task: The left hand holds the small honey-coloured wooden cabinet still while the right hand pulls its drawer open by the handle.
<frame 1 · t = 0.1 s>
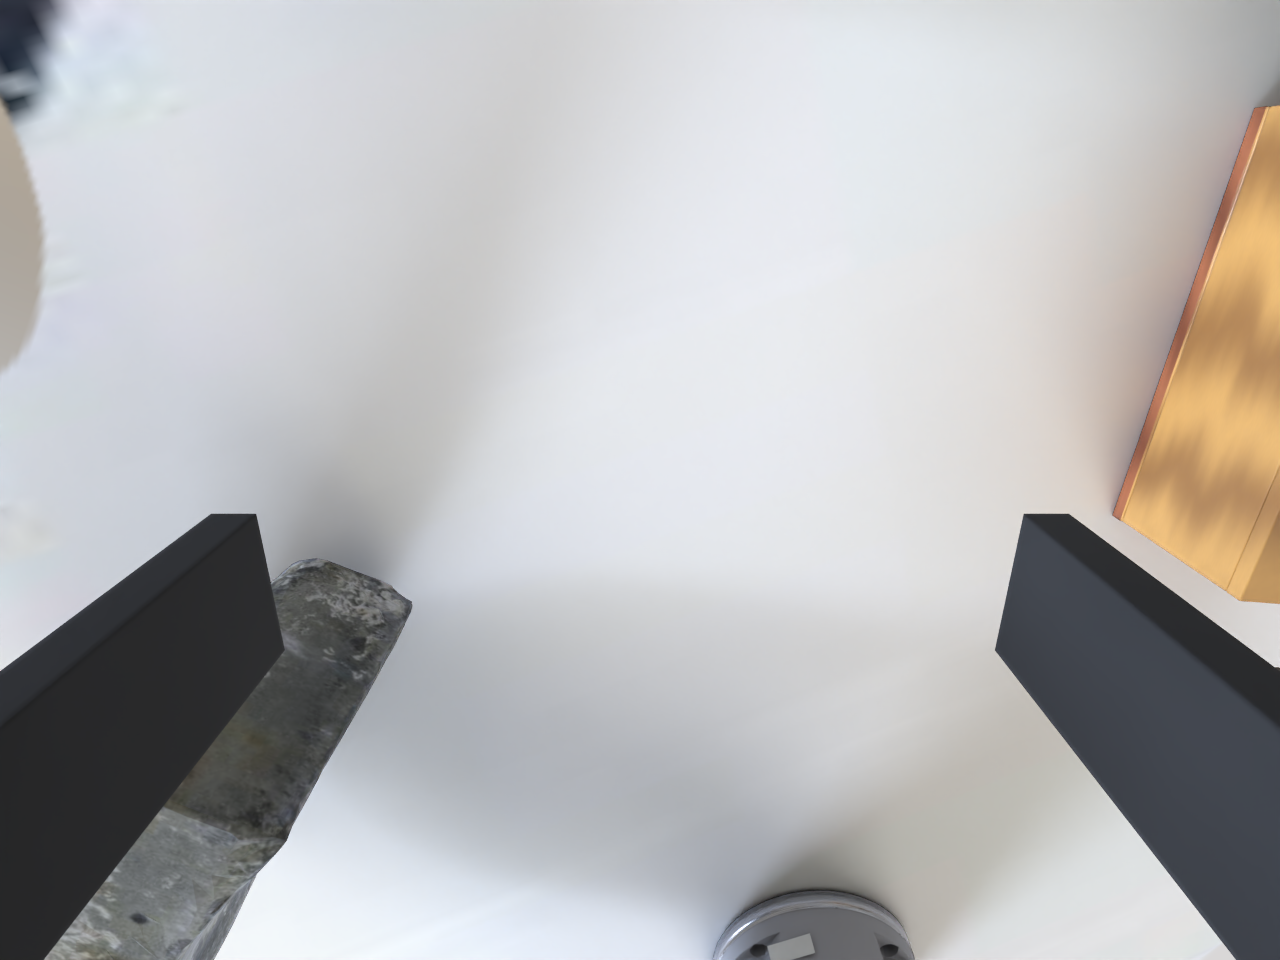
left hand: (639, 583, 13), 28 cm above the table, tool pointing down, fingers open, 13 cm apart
cabinet: (1275, 340, 39), on the table
concrete block: (293, 694, 48), on the table
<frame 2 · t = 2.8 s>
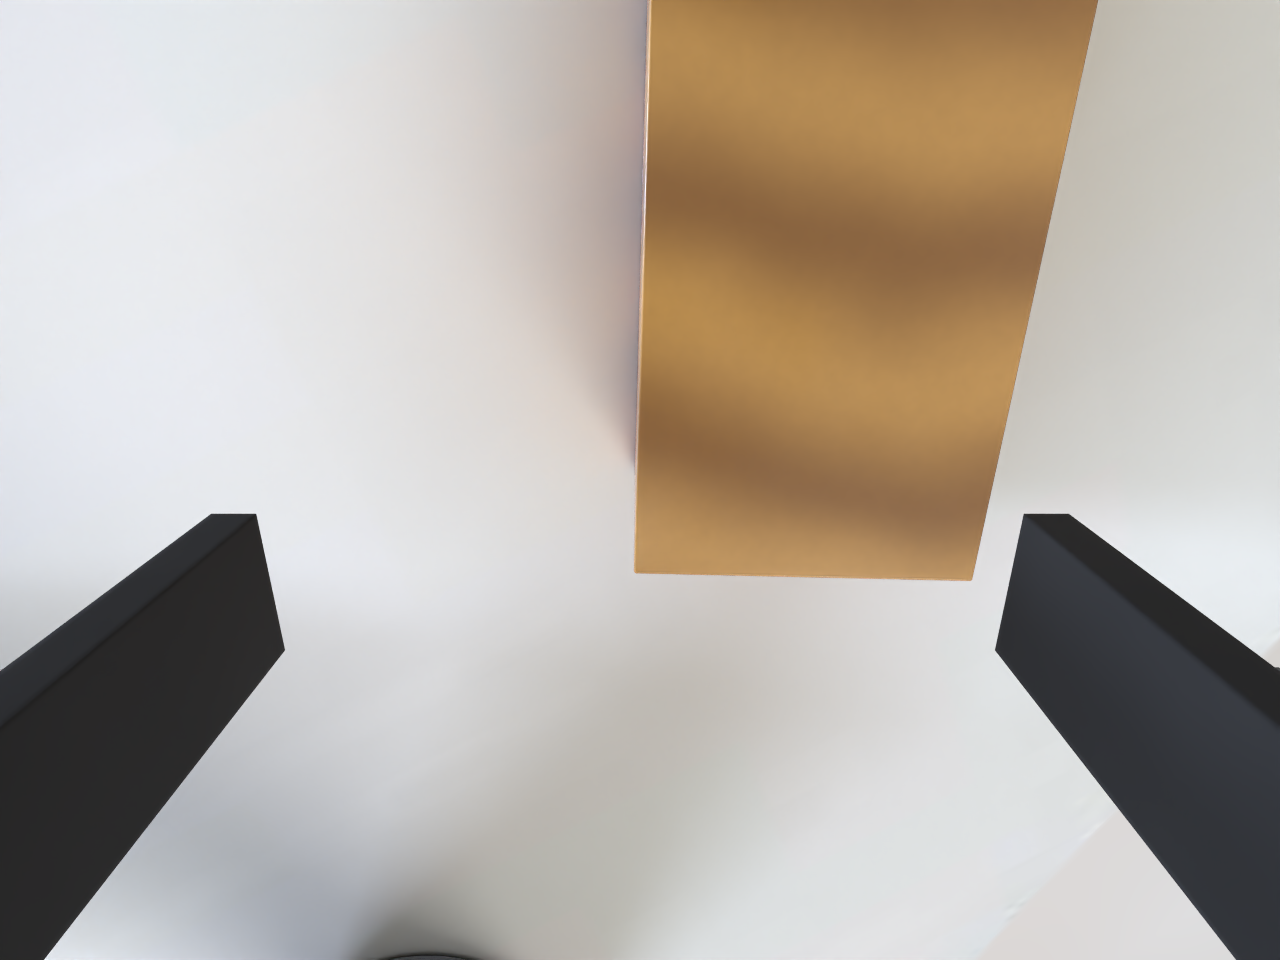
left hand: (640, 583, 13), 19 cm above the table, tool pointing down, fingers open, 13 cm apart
cabinet: (780, 215, 29), on the table
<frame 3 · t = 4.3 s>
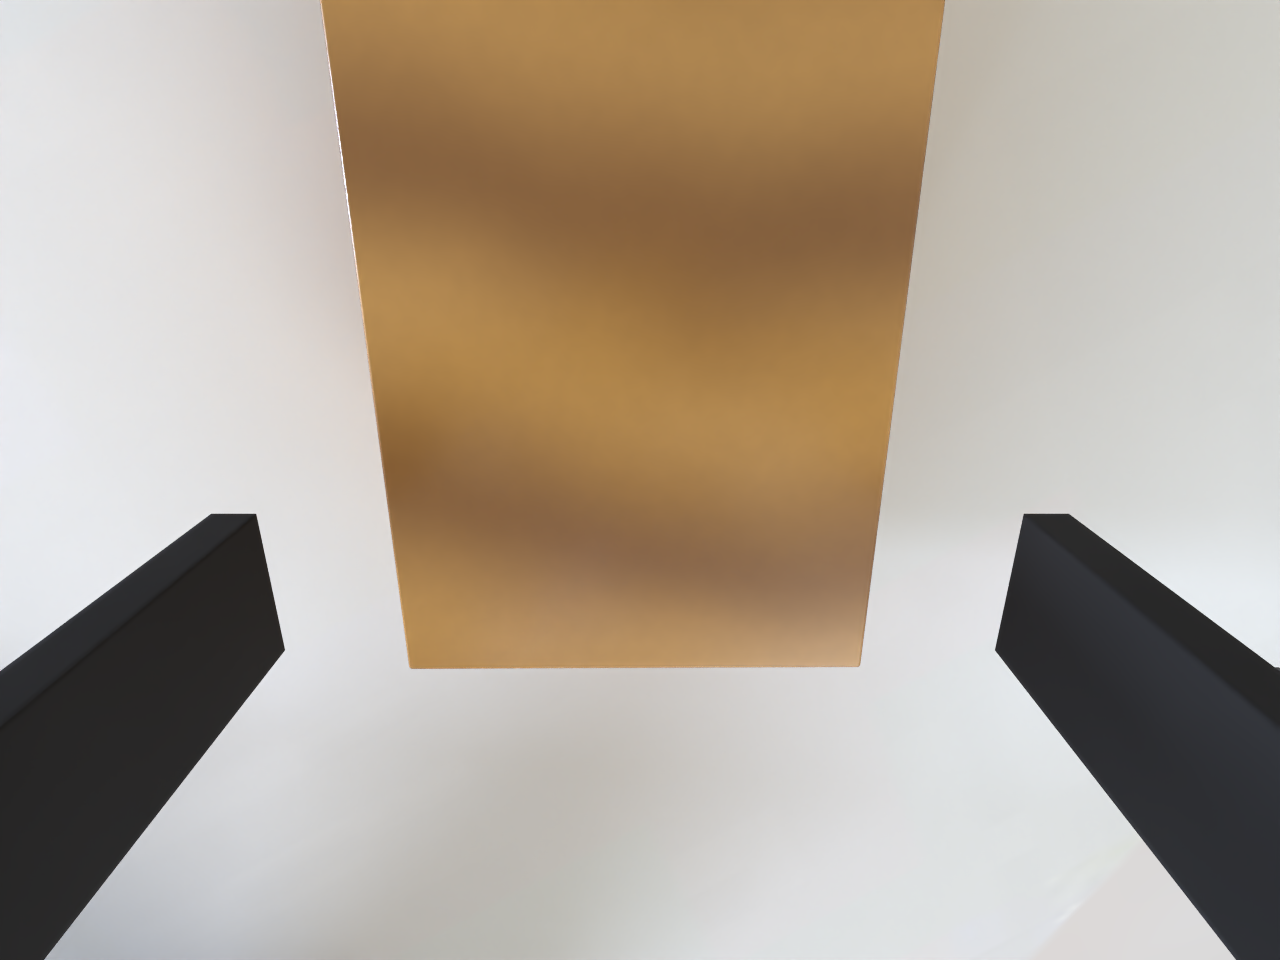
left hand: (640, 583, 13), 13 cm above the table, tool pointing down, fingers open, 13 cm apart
cabinet: (634, 195, 23), on the table
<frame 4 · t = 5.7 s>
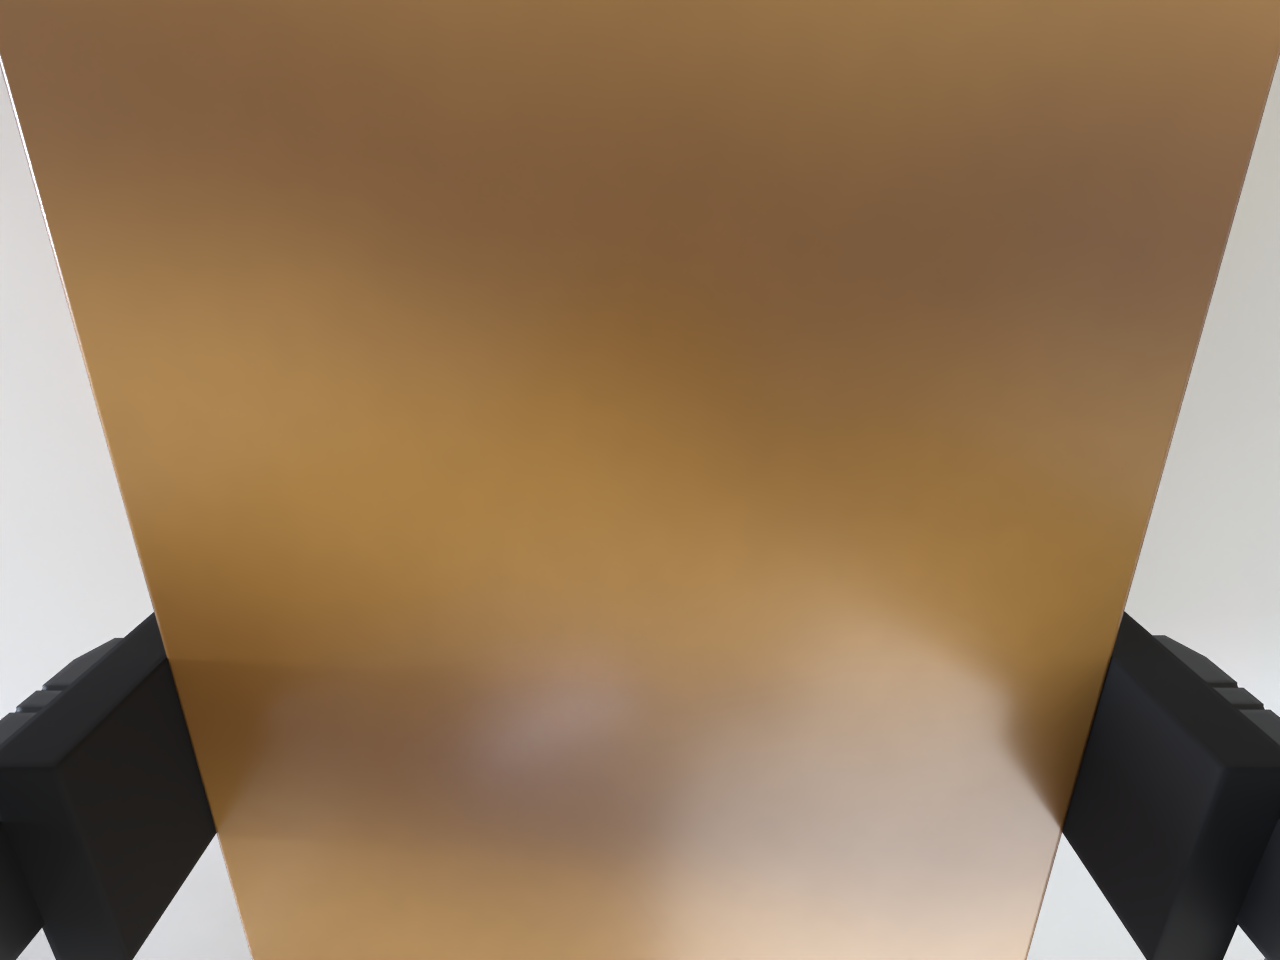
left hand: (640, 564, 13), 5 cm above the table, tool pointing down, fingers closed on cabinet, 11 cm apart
cabinet: (638, 179, 16), on the table, touching left hand
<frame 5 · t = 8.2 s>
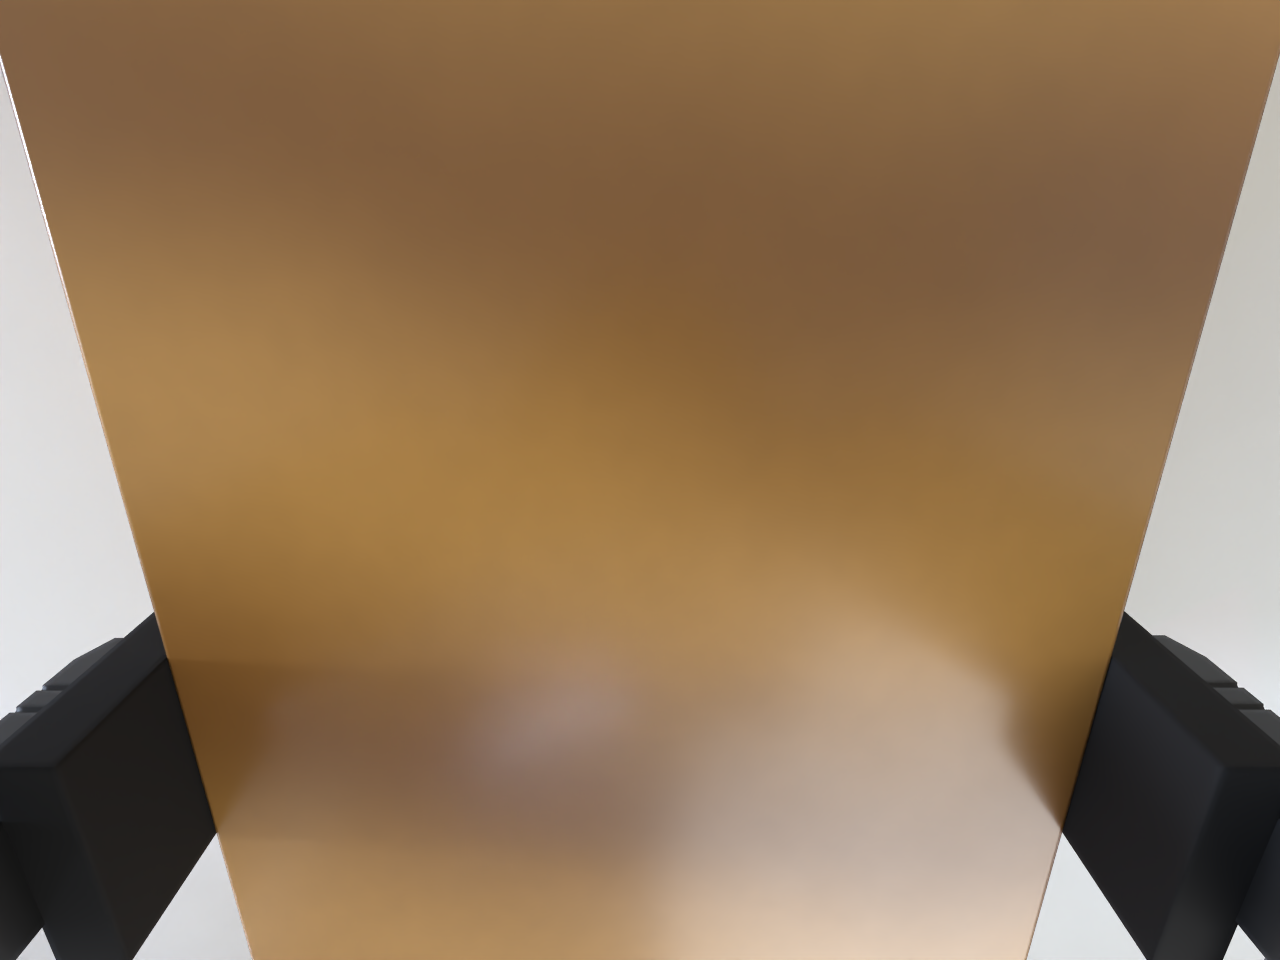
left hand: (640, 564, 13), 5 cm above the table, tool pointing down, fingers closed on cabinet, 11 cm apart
cabinet: (638, 179, 16), on the table, touching left hand
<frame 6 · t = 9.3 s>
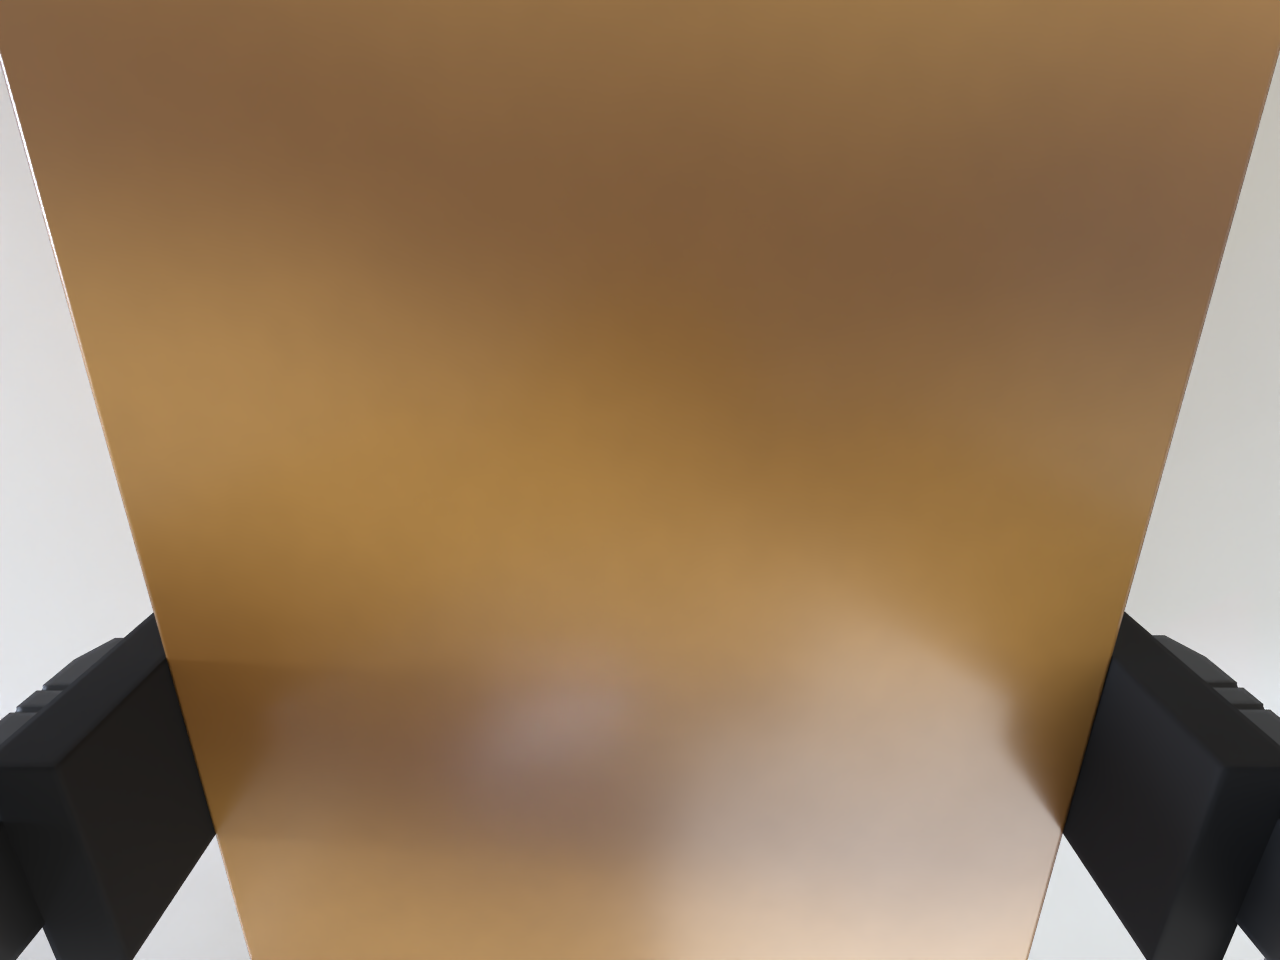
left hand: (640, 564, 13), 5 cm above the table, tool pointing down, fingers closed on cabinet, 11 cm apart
cabinet: (638, 180, 16), on the table, touching left hand
when the left hand's fingers open (5 cm above the table, at t = 11.3 s): cabinet stays where it is, on the table.
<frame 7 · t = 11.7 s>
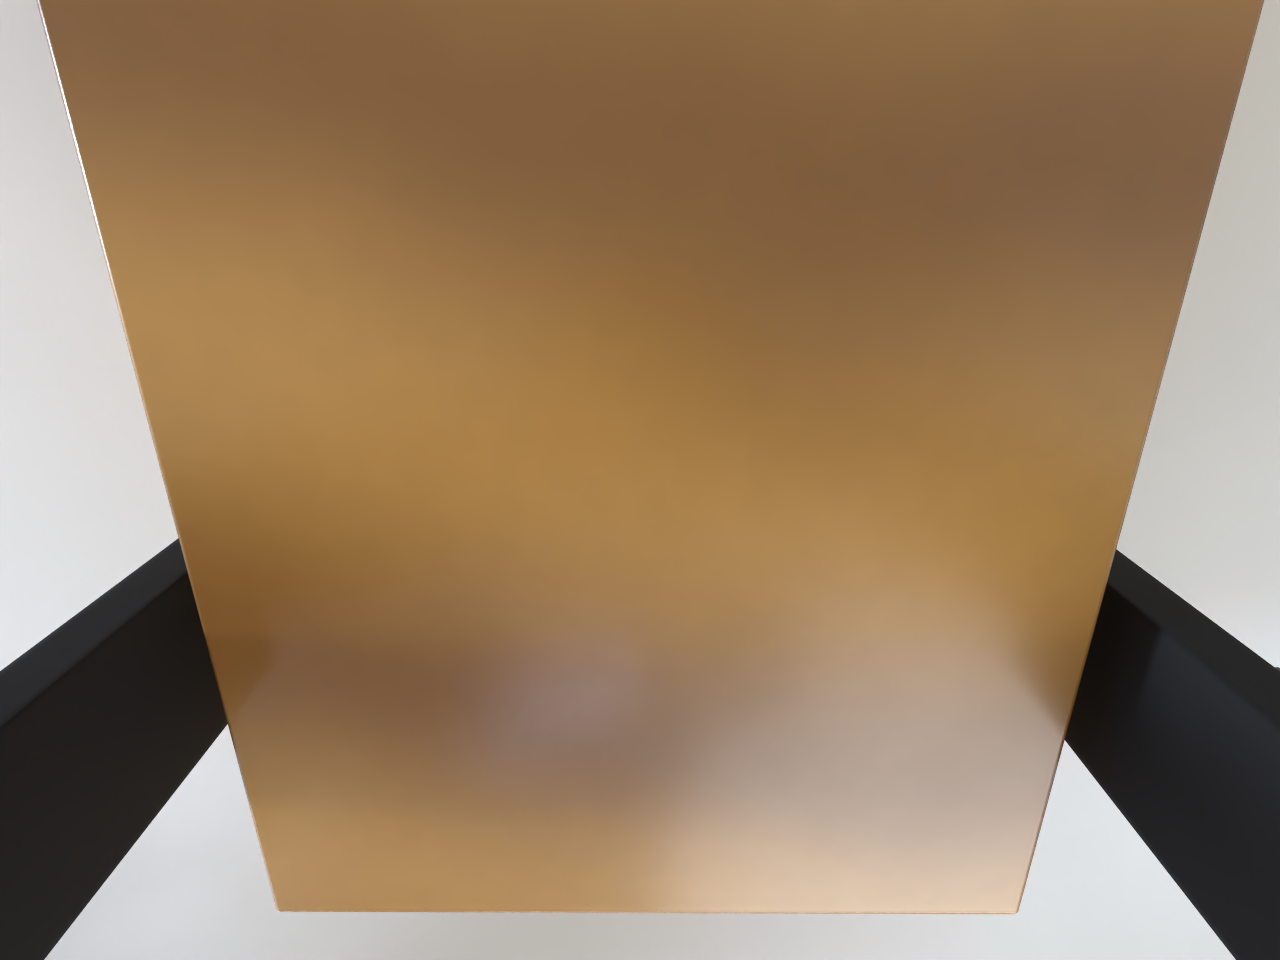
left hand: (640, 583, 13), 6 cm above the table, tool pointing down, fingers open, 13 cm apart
cabinet: (645, 147, 16), on the table
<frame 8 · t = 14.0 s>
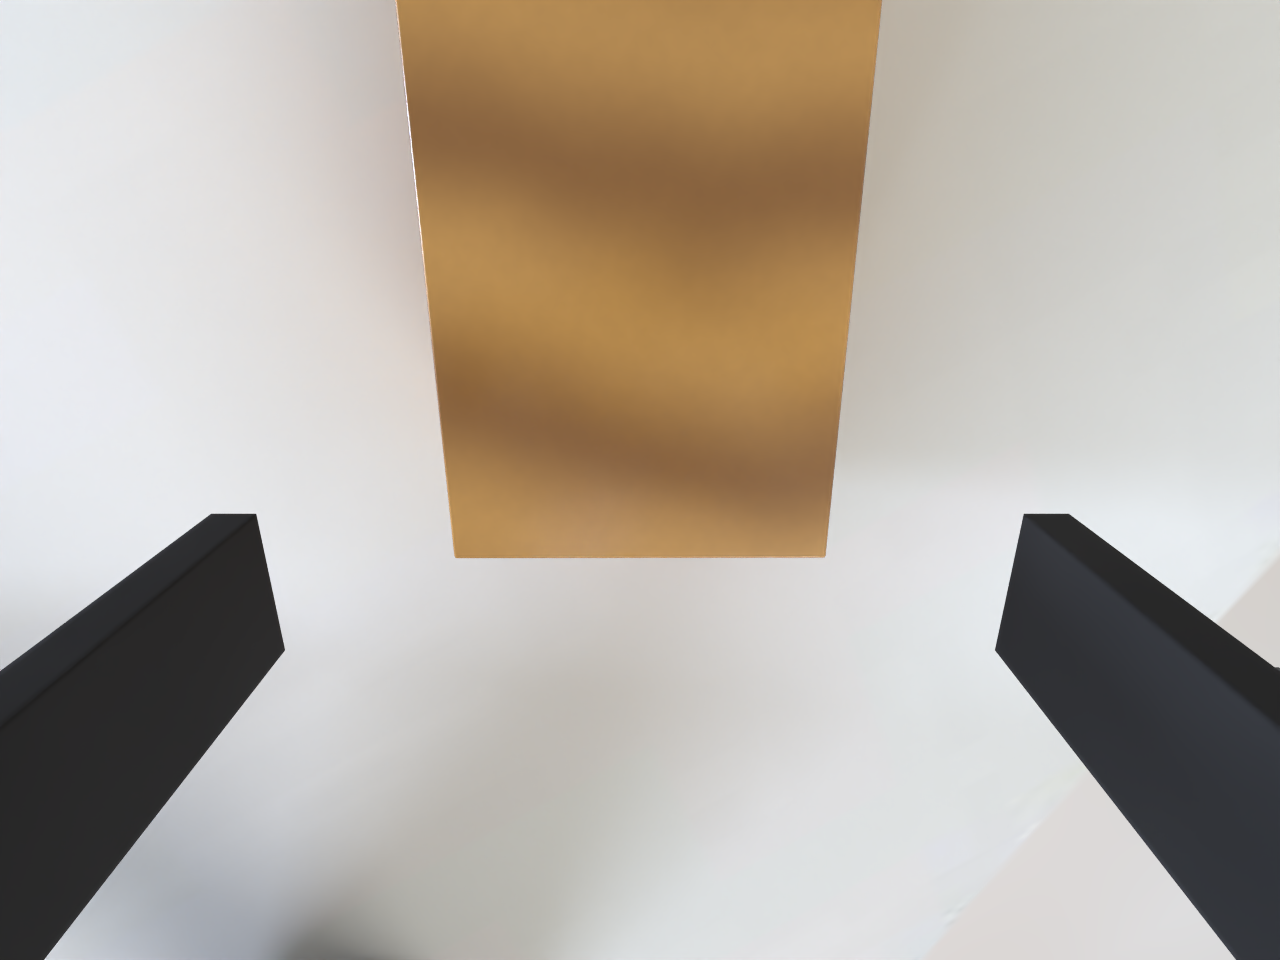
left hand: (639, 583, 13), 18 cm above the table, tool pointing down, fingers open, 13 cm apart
cabinet: (639, 171, 27), on the table
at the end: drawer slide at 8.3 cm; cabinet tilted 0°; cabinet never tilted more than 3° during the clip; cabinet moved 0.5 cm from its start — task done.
